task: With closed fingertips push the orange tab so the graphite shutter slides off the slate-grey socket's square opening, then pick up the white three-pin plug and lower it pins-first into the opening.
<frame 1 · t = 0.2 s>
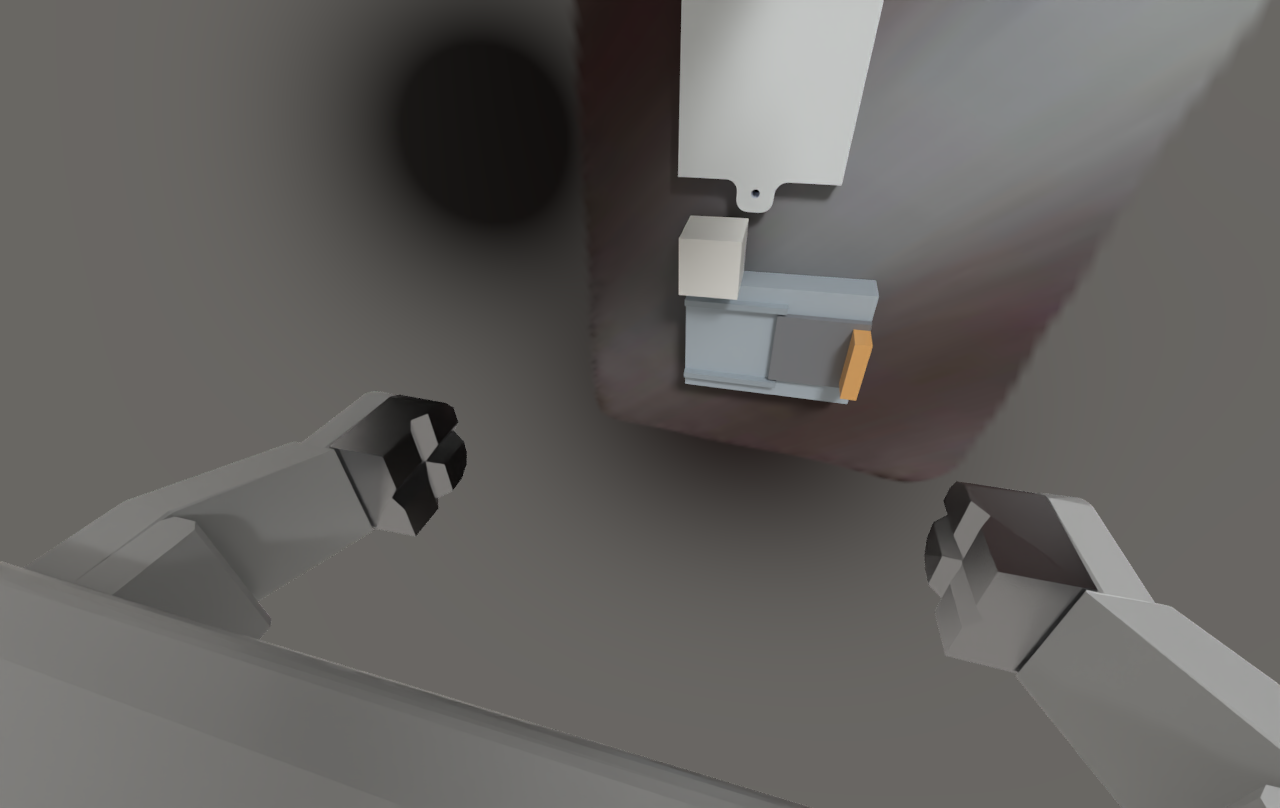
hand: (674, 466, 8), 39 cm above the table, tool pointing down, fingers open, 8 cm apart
plug: (720, 238, 45), on the table
mounting plate: (770, 81, 37), on the table
shutter: (816, 359, 46), point 5 cm above the table, slide at 0.0 cm
socket: (769, 328, 50), on the table
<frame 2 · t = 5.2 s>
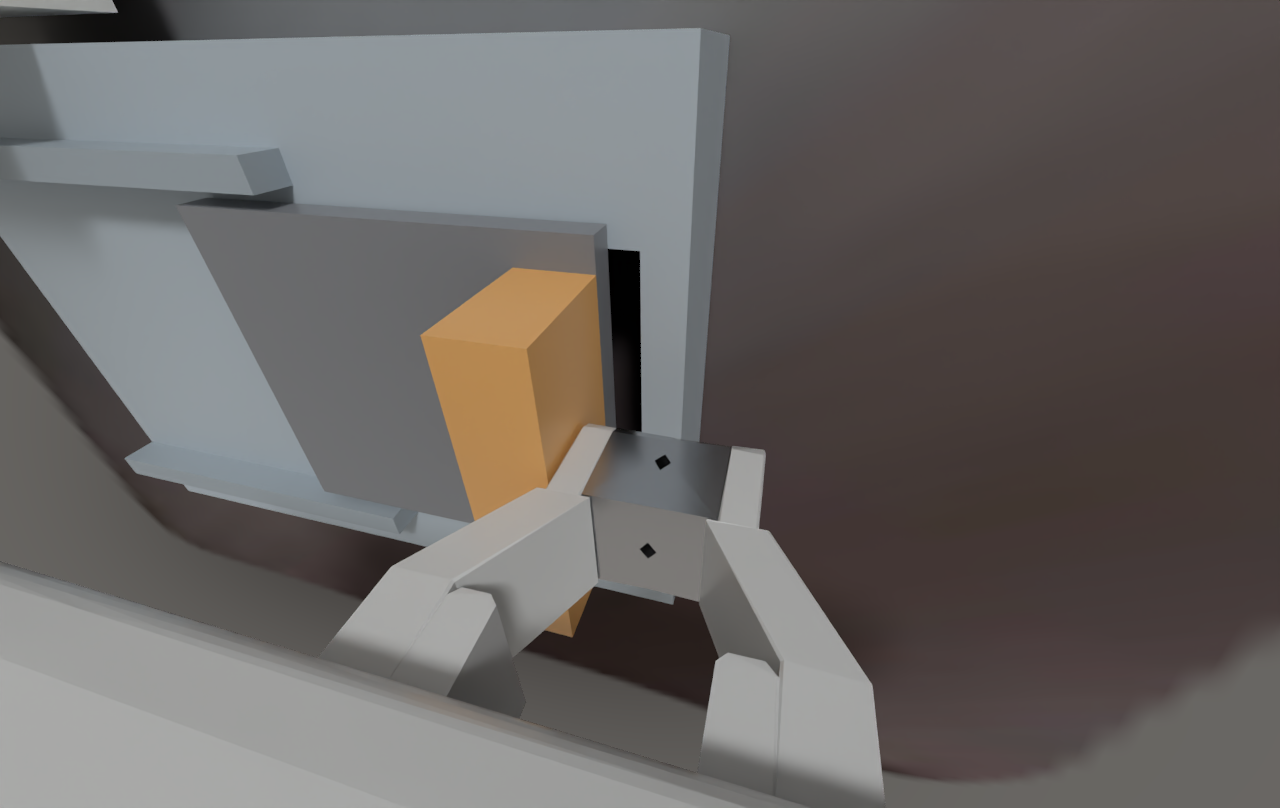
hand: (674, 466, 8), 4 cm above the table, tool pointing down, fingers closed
shutter: (391, 426, 9), point 5 cm above the table, slide at 1.3 cm, touching gripper
socket: (400, 311, 14), on the table
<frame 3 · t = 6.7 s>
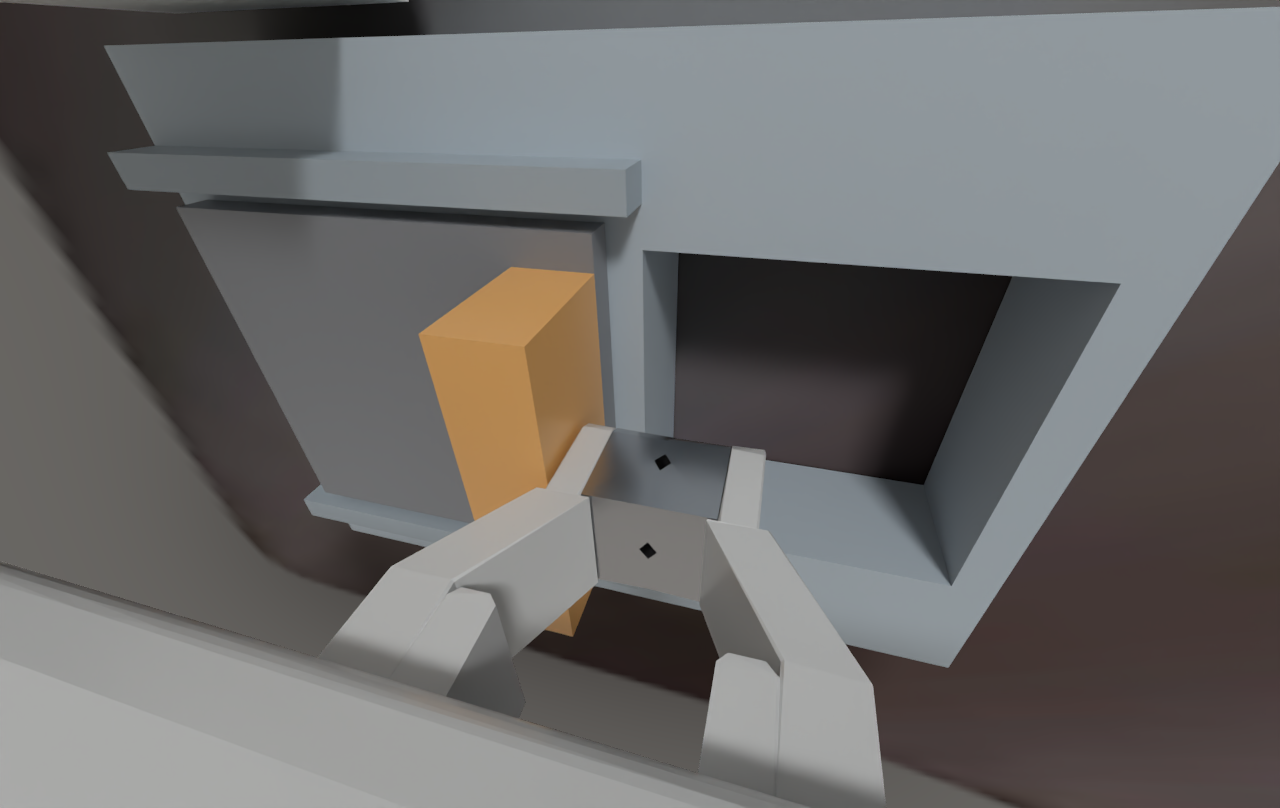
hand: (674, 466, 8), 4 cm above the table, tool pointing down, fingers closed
shutter: (391, 426, 9), point 5 cm above the table, slide at 7.8 cm, touching gripper
socket: (624, 337, 12), on the table
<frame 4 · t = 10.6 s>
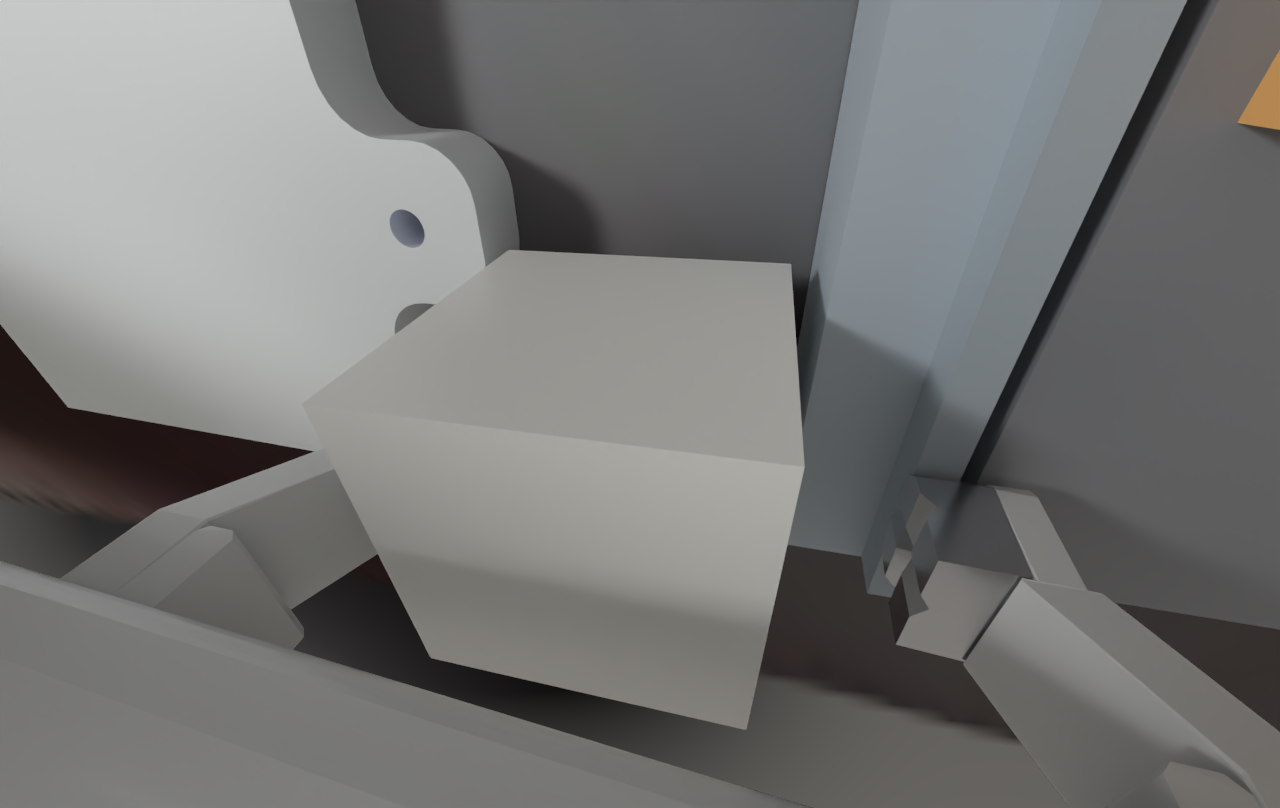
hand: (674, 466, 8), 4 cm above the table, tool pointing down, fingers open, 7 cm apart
plug: (658, 343, 11), on the table, touching gripper
mounting plate: (191, 183, 12), on the table
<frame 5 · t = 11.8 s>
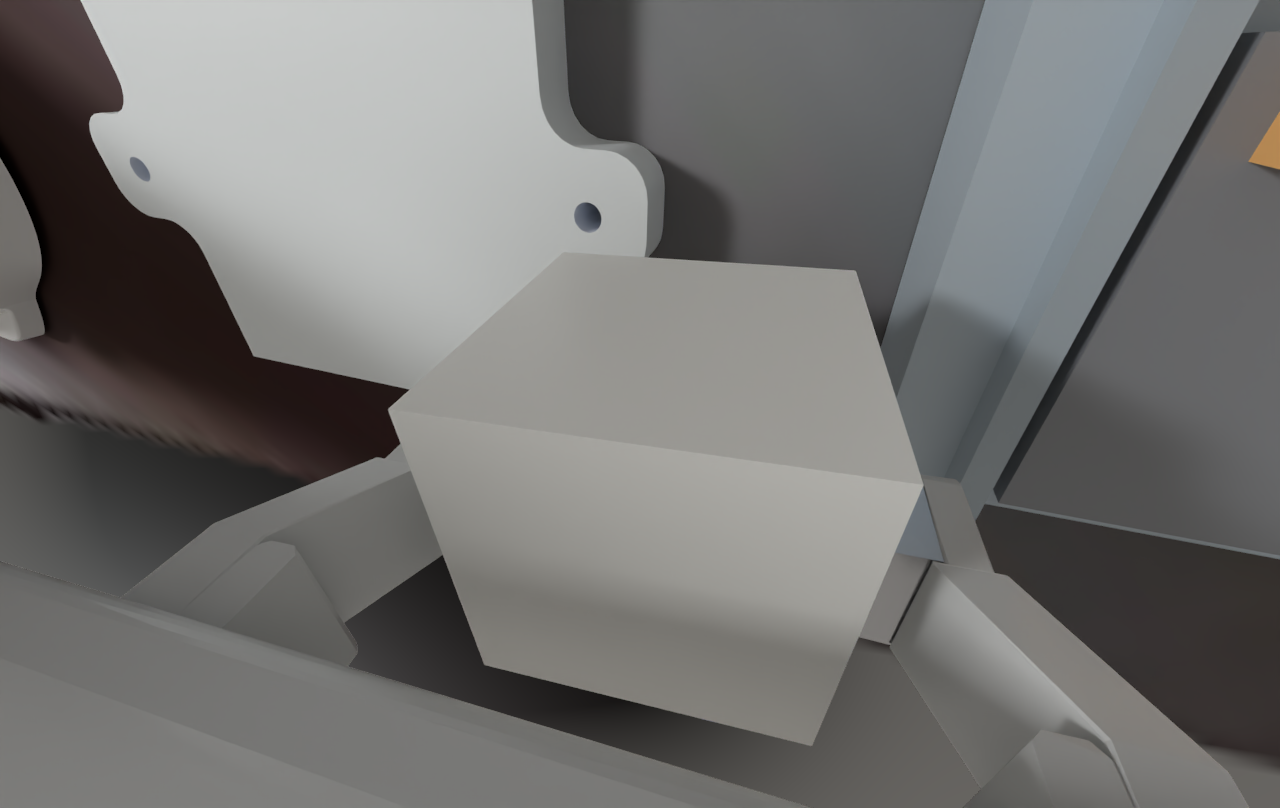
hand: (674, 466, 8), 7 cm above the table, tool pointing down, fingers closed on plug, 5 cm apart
plug: (704, 348, 11), point 3 cm above the table, touching gripper
mounting plate: (388, 176, 15), on the table
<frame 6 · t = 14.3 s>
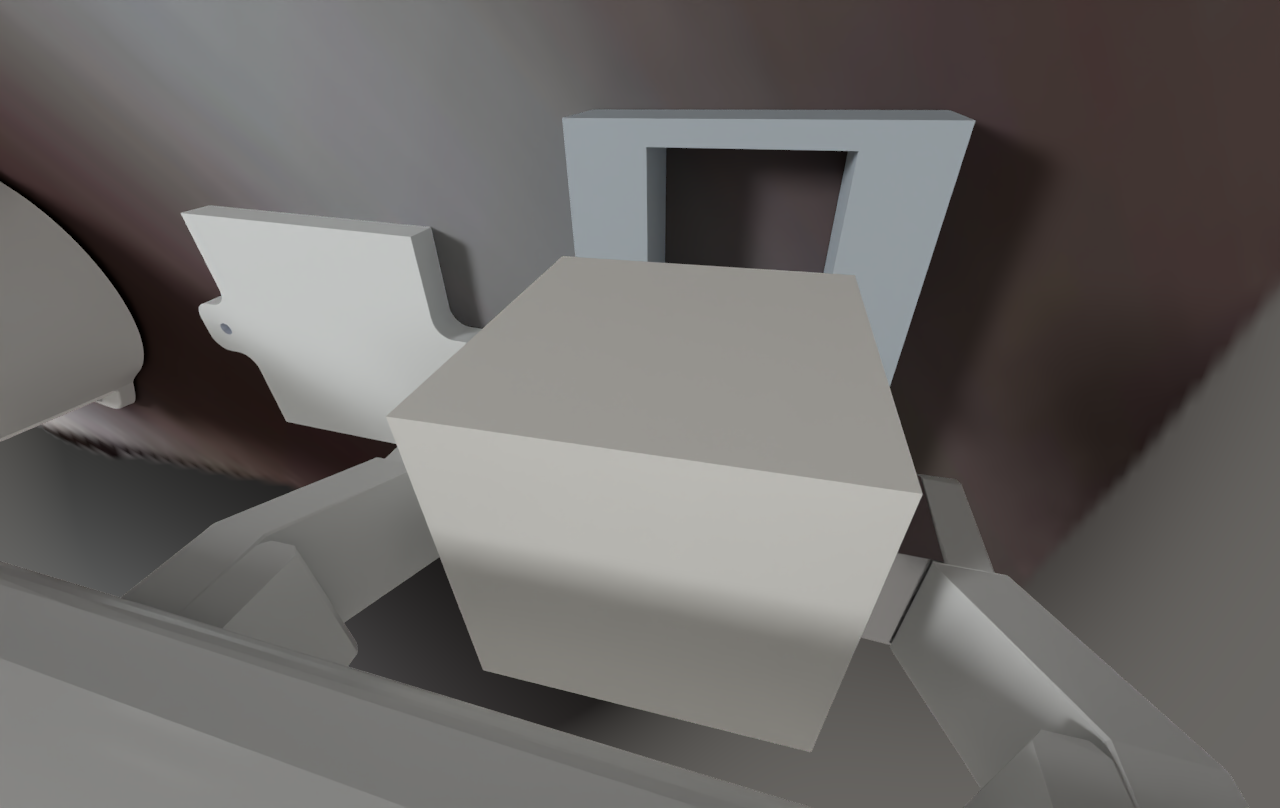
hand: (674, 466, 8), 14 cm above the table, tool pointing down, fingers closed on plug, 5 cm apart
plug: (703, 351, 11), point 10 cm above the table, touching gripper
mounting plate: (363, 329, 29), on the table
socket: (735, 332, 22), on the table
when the fingers open (4 cm above the table, at t = 16.8 s): plug stays where it is, resting in socket.
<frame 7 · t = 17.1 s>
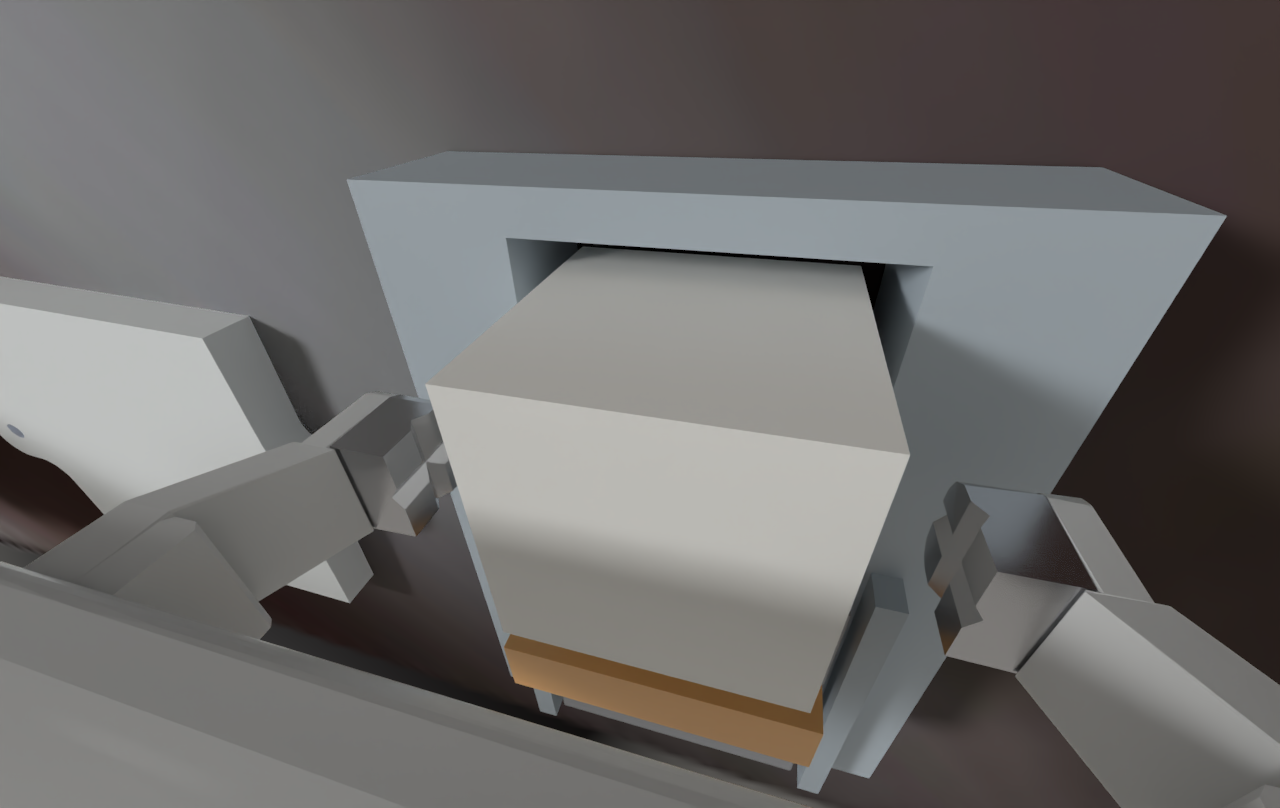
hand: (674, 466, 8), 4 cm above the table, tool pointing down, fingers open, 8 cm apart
plug: (715, 341, 12), resting in socket
mounting plate: (205, 431, 21), on the table
shutter: (666, 705, 13), point 5 cm above the table, slide at 7.9 cm
socket: (703, 485, 14), on the table
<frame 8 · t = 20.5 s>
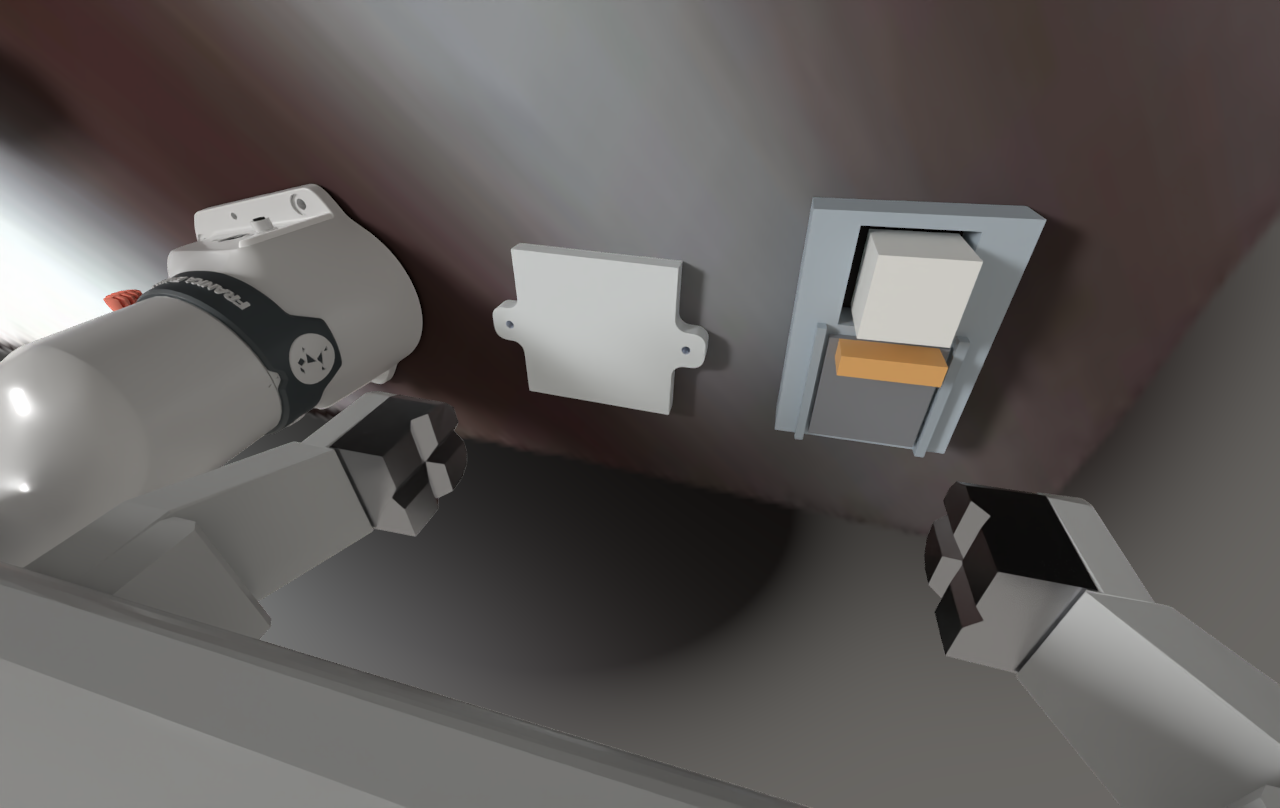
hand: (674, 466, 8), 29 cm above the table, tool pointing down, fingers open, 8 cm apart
plug: (897, 263, 33), resting in socket
mounting plate: (602, 325, 42), on the table
shutter: (874, 402, 34), point 5 cm above the table, slide at 7.9 cm
socket: (879, 327, 35), on the table
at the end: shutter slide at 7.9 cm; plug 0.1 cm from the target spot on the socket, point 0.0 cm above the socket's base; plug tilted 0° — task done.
